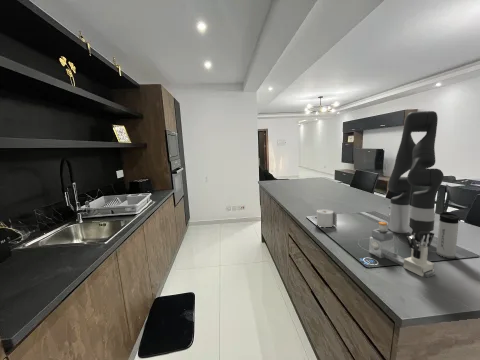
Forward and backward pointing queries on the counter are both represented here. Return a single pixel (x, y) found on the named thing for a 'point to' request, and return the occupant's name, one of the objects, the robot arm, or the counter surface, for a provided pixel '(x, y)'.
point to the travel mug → (447, 235)
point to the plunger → (382, 227)
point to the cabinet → (381, 243)
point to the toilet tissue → (326, 218)
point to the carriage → (419, 262)
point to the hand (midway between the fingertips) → (418, 256)
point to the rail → (400, 261)
